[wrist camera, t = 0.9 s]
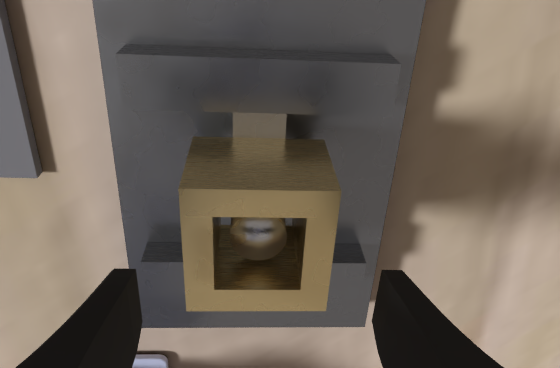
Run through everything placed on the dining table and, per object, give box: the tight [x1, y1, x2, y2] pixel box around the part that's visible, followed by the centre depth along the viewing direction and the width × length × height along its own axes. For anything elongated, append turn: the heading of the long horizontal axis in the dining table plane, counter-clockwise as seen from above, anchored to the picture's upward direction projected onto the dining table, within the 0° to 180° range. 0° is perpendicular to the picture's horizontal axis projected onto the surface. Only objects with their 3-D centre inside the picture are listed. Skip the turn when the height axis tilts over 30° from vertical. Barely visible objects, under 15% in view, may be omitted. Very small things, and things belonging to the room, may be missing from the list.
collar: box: [178, 136, 342, 311], centre depth 17 cm, size 5×5×4 cm
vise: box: [93, 0, 426, 328], centre depth 19 cm, size 20×12×6 cm, turn 177°
